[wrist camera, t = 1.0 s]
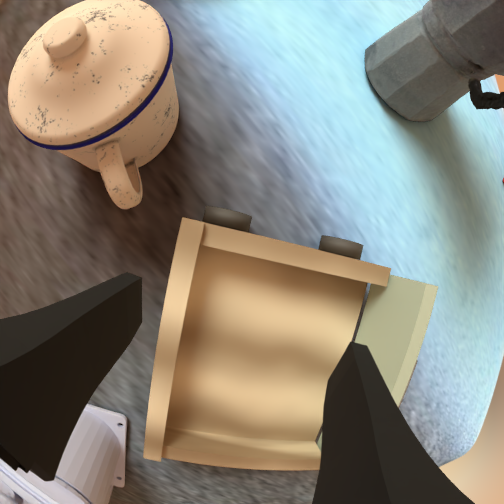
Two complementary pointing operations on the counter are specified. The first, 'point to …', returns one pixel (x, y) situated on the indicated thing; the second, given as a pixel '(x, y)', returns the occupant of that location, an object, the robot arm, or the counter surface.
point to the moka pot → (439, 58)
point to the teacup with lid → (99, 90)
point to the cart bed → (250, 344)
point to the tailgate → (396, 329)
